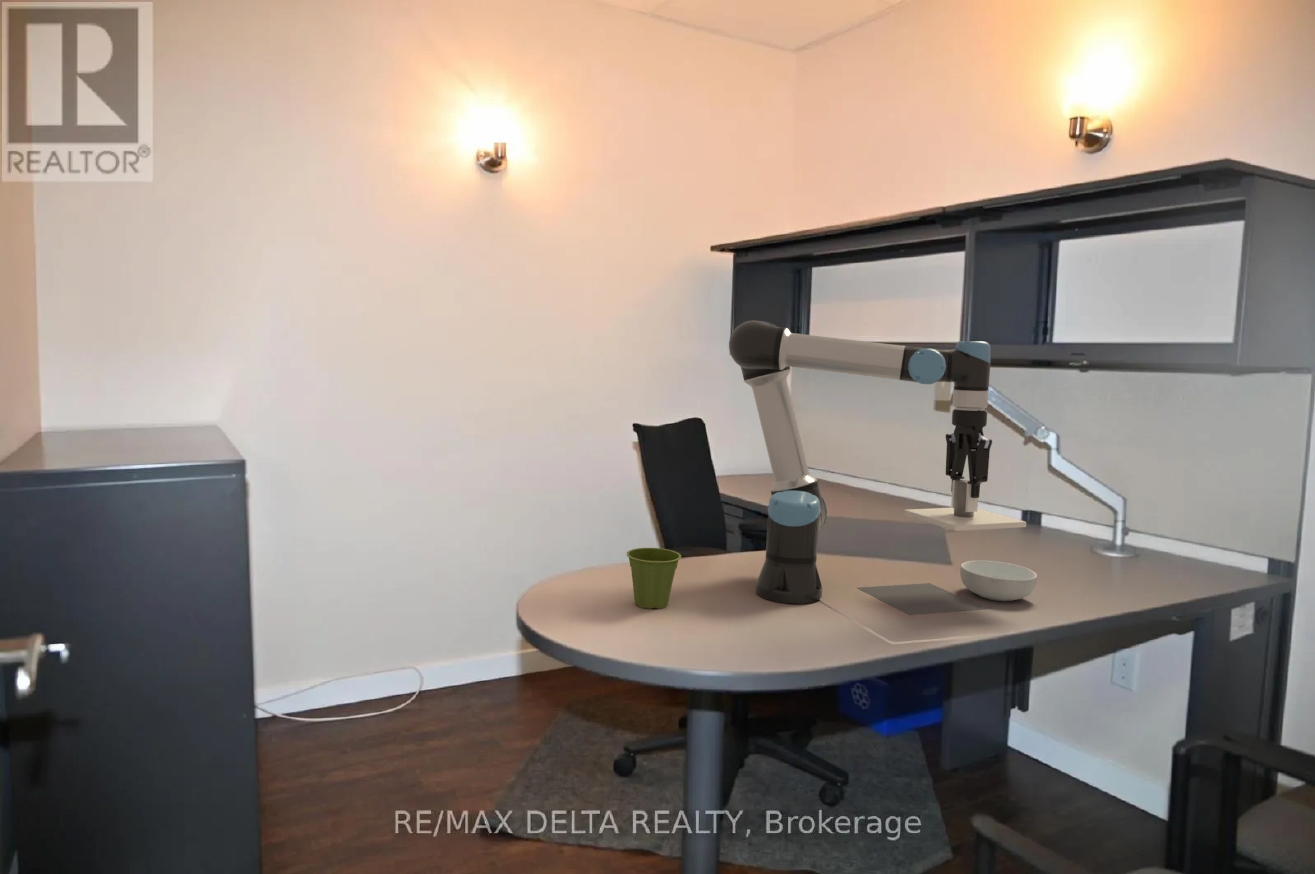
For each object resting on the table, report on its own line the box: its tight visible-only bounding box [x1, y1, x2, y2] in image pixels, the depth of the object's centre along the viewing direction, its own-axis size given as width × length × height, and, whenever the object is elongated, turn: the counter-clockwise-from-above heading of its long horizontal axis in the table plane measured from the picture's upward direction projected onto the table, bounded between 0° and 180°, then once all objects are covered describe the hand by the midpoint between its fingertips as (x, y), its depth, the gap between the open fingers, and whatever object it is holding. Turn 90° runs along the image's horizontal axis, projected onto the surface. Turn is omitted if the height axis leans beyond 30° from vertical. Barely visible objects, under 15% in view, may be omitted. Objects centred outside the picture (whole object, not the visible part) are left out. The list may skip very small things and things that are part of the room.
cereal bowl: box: [959, 560, 1038, 602], centre depth 204 cm, size 17×17×7 cm
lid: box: [903, 479, 1027, 532], centre depth 199 cm, size 19×19×9 cm
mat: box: [857, 582, 988, 616], centre depth 200 cm, size 21×21×1 cm
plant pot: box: [626, 547, 682, 610], centre depth 186 cm, size 12×12×11 cm
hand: (964, 509), depth 199 cm, fingers closed on lid, 4 cm apart
